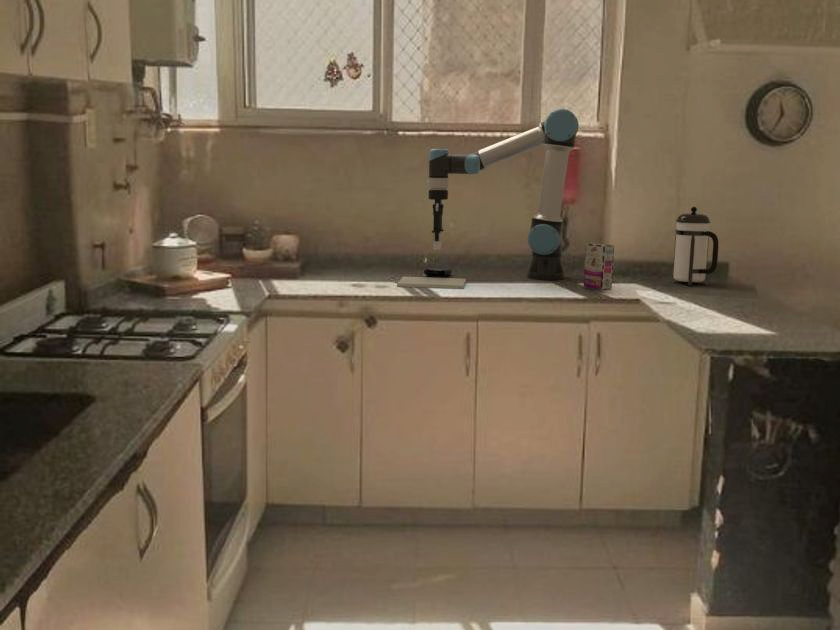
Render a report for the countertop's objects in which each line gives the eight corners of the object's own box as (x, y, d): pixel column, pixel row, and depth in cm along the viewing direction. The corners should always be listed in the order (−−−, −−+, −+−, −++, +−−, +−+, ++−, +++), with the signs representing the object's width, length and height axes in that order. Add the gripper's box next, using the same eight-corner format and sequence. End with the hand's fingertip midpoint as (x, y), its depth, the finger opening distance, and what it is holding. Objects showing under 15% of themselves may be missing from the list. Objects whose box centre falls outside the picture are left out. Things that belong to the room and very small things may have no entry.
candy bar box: (612, 290, 335) (615, 245, 332) (601, 290, 332) (604, 245, 330) (593, 286, 344) (595, 242, 342) (582, 286, 342) (584, 242, 339)
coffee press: (668, 285, 351) (673, 206, 346) (669, 280, 366) (674, 205, 361) (715, 288, 346) (721, 208, 341) (715, 283, 361) (720, 206, 356)
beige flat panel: (465, 281, 348) (465, 278, 348) (463, 288, 329) (463, 285, 329) (403, 279, 350) (403, 276, 350) (397, 286, 331) (397, 283, 331)
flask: (423, 268, 358) (431, 267, 368) (423, 276, 359) (431, 274, 369) (446, 270, 355) (453, 268, 366) (445, 277, 356) (453, 276, 366)
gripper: (430, 188, 363) (429, 246, 367) (426, 189, 345) (425, 251, 348) (449, 188, 363) (448, 247, 366) (446, 190, 344) (445, 251, 348)
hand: (437, 248), depth 357 cm, fingers open, 6 cm apart
